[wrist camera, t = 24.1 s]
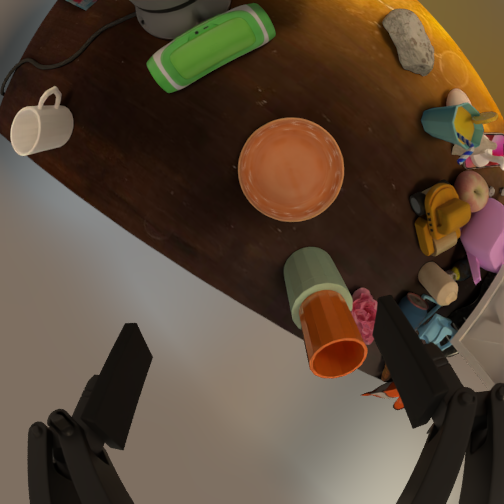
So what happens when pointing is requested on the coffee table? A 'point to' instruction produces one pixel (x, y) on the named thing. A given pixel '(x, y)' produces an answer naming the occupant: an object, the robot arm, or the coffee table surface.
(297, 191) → the saucer
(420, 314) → the soda can
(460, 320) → the running shoe
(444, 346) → the phone stand
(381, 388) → the fish
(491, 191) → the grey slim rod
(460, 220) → the toy roller
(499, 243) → the teapot
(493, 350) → the decorative block
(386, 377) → the croissant
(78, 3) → the juice carton
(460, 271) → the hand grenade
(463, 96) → the egg
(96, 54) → the coffee table surface
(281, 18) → the coffee table surface
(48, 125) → the mug
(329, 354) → the orange cup
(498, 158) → the figurine
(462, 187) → the apple
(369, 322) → the flower
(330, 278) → the green jar
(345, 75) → the coffee table surface
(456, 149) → the arrowhead
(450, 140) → the cup
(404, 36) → the decorative stone
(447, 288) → the candle
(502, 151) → the smartphone
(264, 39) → the speaker
